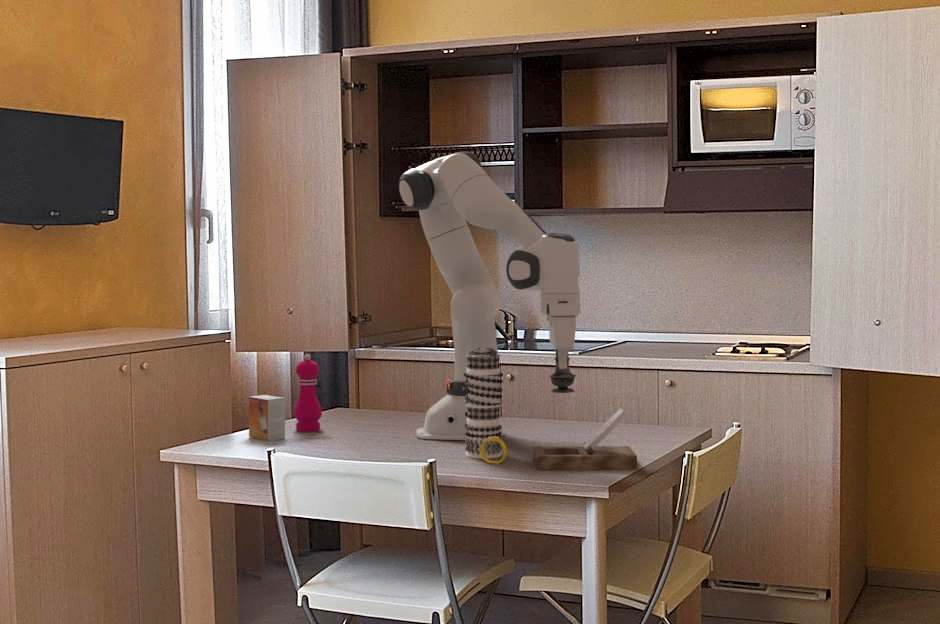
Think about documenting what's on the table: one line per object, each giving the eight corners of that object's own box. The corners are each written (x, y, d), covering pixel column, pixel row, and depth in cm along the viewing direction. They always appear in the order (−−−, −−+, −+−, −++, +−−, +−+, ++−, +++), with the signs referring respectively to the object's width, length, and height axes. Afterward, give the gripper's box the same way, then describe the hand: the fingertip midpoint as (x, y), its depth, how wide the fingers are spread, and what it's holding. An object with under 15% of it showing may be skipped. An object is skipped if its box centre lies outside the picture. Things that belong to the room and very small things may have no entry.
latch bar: (589, 453, 267) (585, 449, 267) (586, 448, 272) (582, 445, 272) (627, 414, 267) (623, 411, 267) (624, 411, 272) (620, 407, 272)
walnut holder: (536, 470, 264) (536, 450, 263) (532, 459, 276) (532, 440, 275) (636, 469, 264) (637, 449, 264) (628, 459, 276) (628, 440, 276)
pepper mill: (289, 431, 315) (288, 355, 314) (303, 426, 322) (302, 352, 321) (313, 432, 313) (312, 356, 311) (326, 428, 319) (326, 353, 318)
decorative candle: (500, 459, 276) (500, 350, 274) (460, 458, 278) (460, 350, 276) (506, 452, 285) (506, 346, 283) (467, 451, 287) (467, 346, 285)
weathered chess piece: (576, 389, 273) (575, 336, 273) (575, 392, 267) (574, 339, 267) (550, 389, 274) (549, 337, 273) (548, 393, 268) (547, 339, 268)
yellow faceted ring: (479, 464, 272) (478, 438, 272) (484, 462, 275) (483, 436, 275) (504, 464, 270) (502, 437, 270) (509, 462, 272) (507, 436, 272)
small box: (248, 437, 306) (247, 396, 305) (266, 434, 310) (265, 394, 309) (268, 441, 300) (267, 399, 300) (285, 438, 305) (285, 397, 304)
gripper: (542, 303, 280) (543, 362, 281) (550, 308, 259) (551, 372, 260) (569, 302, 280) (570, 362, 281) (579, 308, 259) (580, 372, 260)
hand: (561, 367), depth 270 cm, fingers closed on weathered chess piece, 3 cm apart
